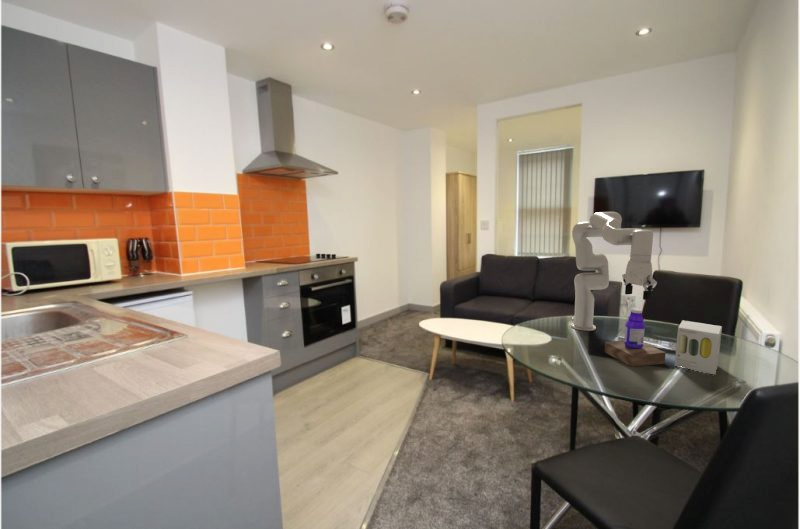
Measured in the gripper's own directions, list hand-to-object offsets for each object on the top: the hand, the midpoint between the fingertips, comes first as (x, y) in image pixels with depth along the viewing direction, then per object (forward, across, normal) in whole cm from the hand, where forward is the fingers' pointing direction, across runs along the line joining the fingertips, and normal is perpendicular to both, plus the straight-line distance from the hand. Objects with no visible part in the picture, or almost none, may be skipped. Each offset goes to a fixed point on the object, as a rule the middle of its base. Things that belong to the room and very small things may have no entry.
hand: (637, 296), depth 154 cm
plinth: (+28, +1, 0) cm, 28 cm away
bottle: (+23, 0, 0) cm, 23 cm away
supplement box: (+28, +14, +18) cm, 36 cm away
